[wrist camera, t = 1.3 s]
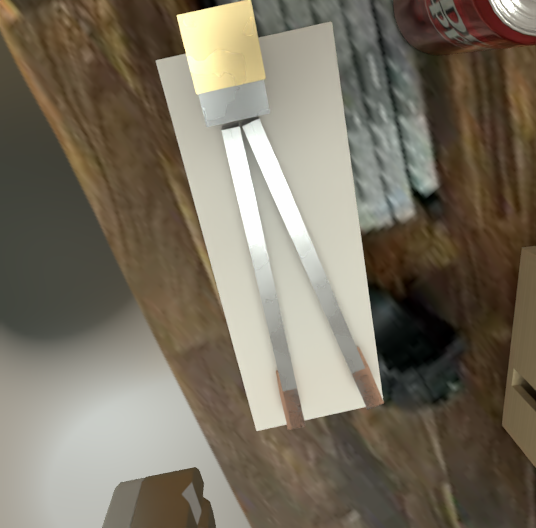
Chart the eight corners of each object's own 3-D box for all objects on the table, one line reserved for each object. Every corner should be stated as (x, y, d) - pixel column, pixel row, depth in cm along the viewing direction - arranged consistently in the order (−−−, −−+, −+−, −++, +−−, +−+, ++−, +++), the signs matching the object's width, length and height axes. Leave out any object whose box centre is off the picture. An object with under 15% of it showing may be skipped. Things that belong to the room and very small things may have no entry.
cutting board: (157, 61, 32) (155, 60, 31) (328, 23, 32) (331, 21, 31) (255, 422, 44) (256, 430, 43) (379, 394, 44) (383, 402, 43)
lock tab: (179, 19, 26) (176, 15, 25) (249, 4, 26) (250, -2, 25) (198, 93, 28) (196, 94, 26) (263, 79, 28) (266, 79, 26)
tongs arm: (240, 122, 33) (242, 126, 30) (260, 113, 32) (263, 116, 30) (358, 387, 42) (367, 409, 39) (373, 381, 42) (384, 403, 39)
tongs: (194, 60, 31) (189, 57, 27) (252, 47, 31) (256, 42, 27) (278, 408, 42) (284, 443, 38) (321, 398, 42) (332, 432, 38)
